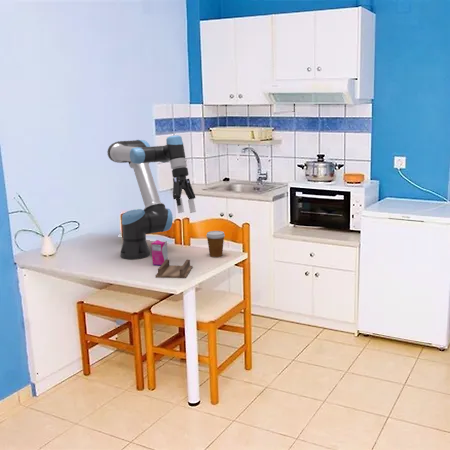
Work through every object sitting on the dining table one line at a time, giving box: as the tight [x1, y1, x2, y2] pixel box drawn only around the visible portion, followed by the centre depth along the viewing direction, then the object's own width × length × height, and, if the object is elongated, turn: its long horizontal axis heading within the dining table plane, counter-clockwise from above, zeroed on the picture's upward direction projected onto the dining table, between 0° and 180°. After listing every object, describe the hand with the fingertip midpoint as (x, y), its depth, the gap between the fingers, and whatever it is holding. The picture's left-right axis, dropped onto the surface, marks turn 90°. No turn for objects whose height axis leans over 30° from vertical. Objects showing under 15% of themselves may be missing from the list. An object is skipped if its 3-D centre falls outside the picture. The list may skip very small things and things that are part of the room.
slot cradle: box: [155, 258, 194, 279], centre depth 261 cm, size 14×16×4 cm
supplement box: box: [150, 239, 169, 267], centre depth 274 cm, size 6×6×12 cm
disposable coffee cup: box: [205, 230, 226, 258], centre depth 287 cm, size 10×10×12 cm
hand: (187, 212), depth 265 cm, fingers open, 13 cm apart
